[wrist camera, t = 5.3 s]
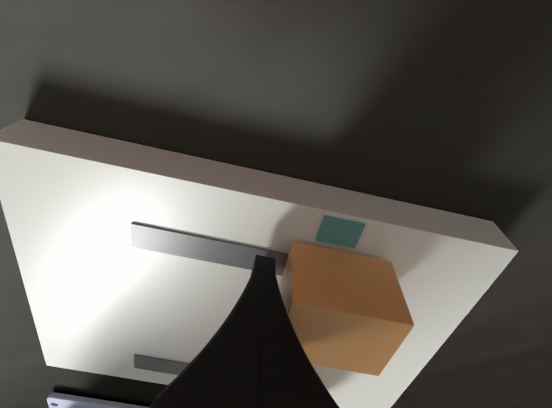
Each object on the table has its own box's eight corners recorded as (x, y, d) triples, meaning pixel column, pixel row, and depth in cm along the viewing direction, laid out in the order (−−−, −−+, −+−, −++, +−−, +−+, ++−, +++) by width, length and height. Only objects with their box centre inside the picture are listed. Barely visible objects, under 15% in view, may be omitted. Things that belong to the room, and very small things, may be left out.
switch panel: (373, 386, 22) (381, 421, 20) (66, 334, 20) (45, 366, 19) (492, 221, 15) (520, 252, 13) (23, 119, 13) (-20, 138, 11)
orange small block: (364, 310, 15) (378, 376, 12) (276, 293, 14) (272, 357, 12) (391, 261, 13) (414, 325, 11) (292, 241, 13) (292, 302, 10)
